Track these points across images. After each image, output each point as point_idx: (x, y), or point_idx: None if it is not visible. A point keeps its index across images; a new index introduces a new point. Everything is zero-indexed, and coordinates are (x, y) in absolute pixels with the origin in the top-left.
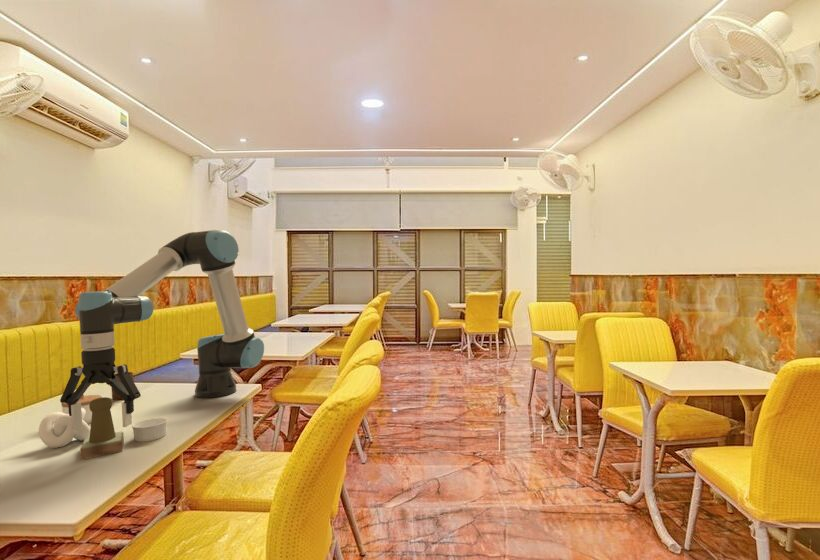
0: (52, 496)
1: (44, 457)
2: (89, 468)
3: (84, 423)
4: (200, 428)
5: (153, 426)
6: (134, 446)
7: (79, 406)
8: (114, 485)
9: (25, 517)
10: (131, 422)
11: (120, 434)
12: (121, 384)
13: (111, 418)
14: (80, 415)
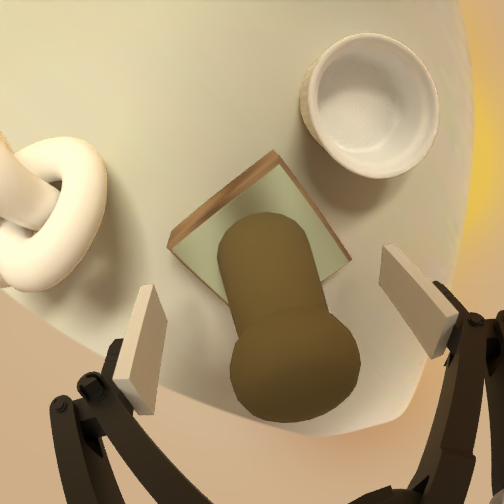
0: (335, 408)
1: (112, 301)
2: None
3: (92, 217)
4: (465, 45)
5: (422, 157)
6: (354, 199)
7: (138, 370)
8: (411, 369)
9: (339, 432)
10: (397, 248)
11: (305, 205)
12: (475, 418)
13: (321, 288)
14: (146, 327)
